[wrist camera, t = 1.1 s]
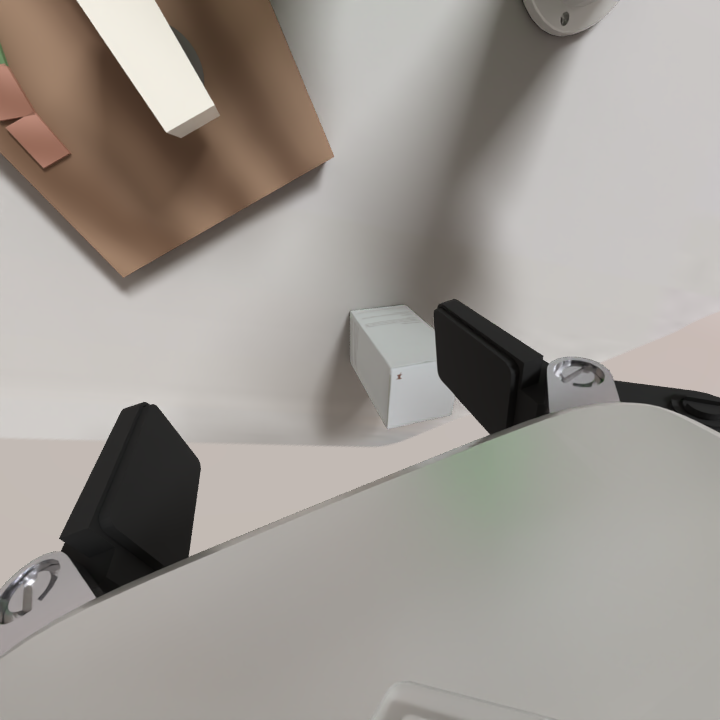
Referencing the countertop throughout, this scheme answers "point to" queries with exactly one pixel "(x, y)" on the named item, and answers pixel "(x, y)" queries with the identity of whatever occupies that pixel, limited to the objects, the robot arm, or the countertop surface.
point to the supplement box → (398, 365)
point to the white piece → (153, 62)
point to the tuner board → (152, 123)
